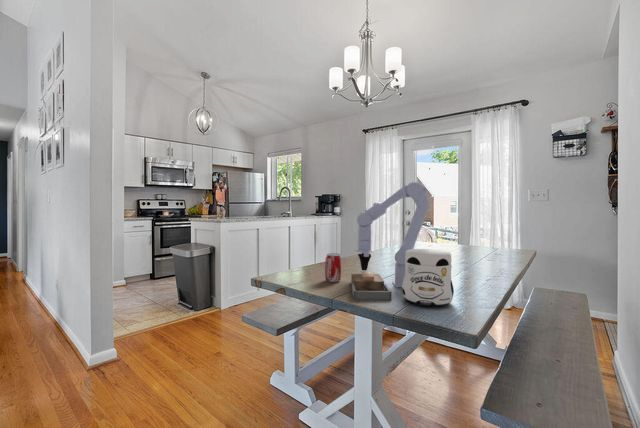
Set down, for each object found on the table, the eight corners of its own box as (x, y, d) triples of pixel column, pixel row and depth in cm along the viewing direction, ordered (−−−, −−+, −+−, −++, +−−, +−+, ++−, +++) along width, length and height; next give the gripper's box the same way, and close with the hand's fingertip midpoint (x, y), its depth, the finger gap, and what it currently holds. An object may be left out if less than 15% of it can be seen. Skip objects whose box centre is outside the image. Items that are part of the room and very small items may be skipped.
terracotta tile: (372, 277, 134) (372, 274, 134) (374, 280, 130) (374, 276, 130) (361, 277, 134) (361, 274, 134) (362, 280, 130) (362, 276, 130)
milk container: (419, 312, 104) (420, 257, 103) (393, 297, 121) (393, 249, 120) (464, 308, 109) (465, 255, 108) (433, 293, 126) (433, 247, 125)
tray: (386, 291, 128) (386, 284, 128) (391, 300, 117) (391, 291, 117) (351, 291, 128) (351, 283, 128) (353, 299, 117) (353, 291, 117)
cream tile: (370, 275, 139) (370, 271, 139) (372, 277, 135) (372, 273, 135) (360, 274, 139) (360, 271, 139) (361, 277, 135) (361, 273, 135)
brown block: (378, 283, 141) (379, 274, 141) (384, 291, 128) (384, 281, 128) (351, 282, 141) (351, 273, 141) (353, 291, 128) (353, 281, 128)
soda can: (341, 283, 141) (341, 255, 140) (324, 282, 141) (325, 255, 141) (340, 279, 148) (341, 253, 147) (325, 278, 148) (325, 252, 148)
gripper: (354, 237, 151) (353, 266, 152) (357, 241, 137) (356, 273, 138) (369, 238, 151) (369, 266, 152) (373, 242, 137) (373, 273, 137)
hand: (364, 270), depth 145 cm, fingers closed
